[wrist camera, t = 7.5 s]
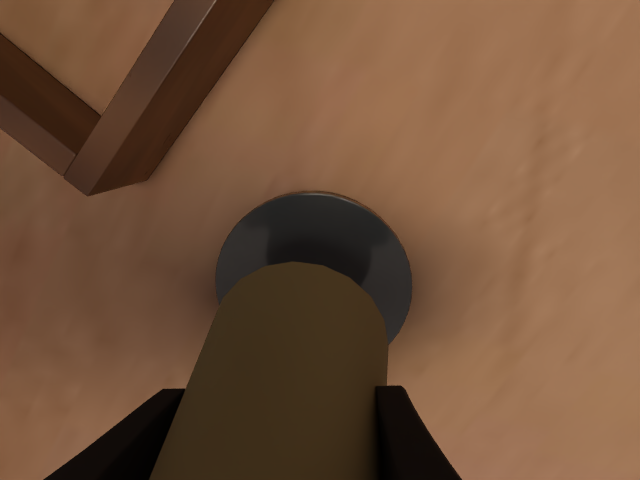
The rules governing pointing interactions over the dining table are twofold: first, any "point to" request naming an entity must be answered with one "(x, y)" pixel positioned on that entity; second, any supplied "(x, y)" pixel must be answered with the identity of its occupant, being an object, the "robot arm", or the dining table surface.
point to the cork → (284, 383)
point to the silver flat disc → (322, 248)
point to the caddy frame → (126, 97)
